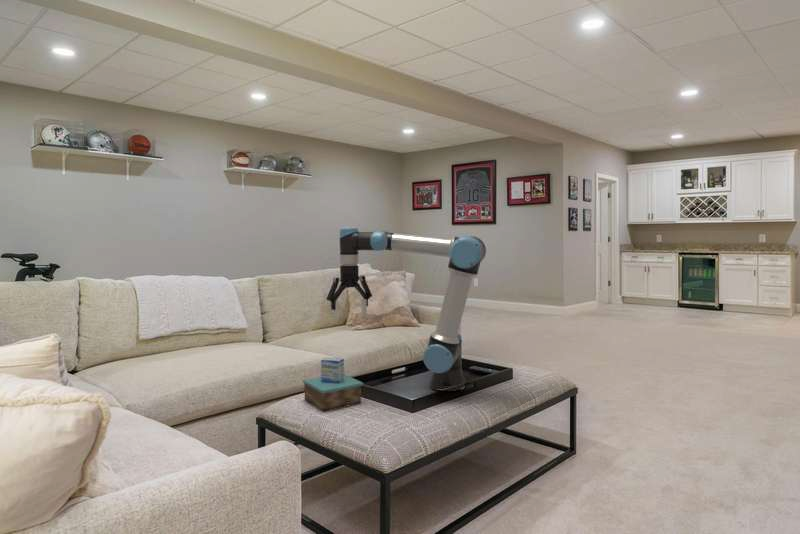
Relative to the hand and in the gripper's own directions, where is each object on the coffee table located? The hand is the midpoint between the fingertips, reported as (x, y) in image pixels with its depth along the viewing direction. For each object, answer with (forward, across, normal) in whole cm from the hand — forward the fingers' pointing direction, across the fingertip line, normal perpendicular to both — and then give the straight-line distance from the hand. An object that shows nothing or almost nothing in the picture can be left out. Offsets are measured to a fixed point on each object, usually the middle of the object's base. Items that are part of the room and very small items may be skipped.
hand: (350, 316), depth 217 cm
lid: (+24, +14, +10) cm, 29 cm away
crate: (+31, +14, +10) cm, 35 cm away
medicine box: (+23, +14, +10) cm, 29 cm away
